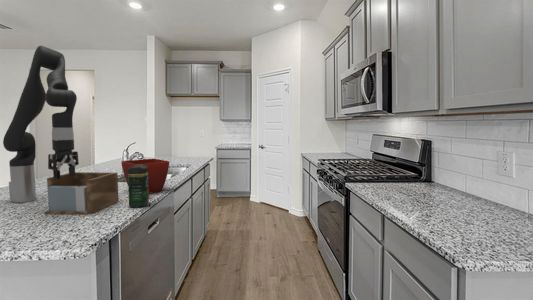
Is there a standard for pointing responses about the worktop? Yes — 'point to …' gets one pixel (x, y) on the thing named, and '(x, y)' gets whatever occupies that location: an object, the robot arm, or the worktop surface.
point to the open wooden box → (90, 189)
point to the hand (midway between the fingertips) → (64, 177)
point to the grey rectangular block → (68, 198)
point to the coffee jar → (138, 186)
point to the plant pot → (150, 172)
